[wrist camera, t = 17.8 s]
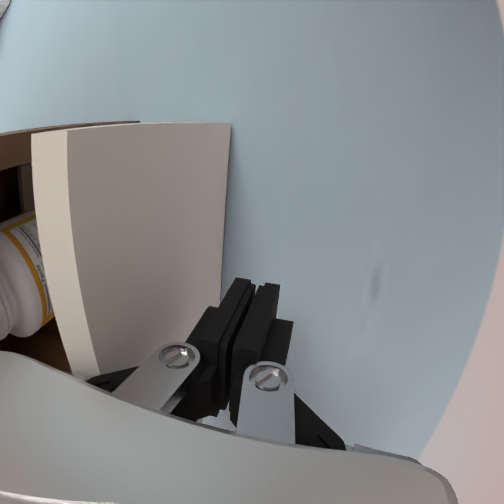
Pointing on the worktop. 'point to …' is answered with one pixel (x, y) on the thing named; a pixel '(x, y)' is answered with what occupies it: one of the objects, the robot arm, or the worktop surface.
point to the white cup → (3, 6)
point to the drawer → (128, 234)
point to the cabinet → (5, 207)
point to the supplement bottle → (22, 278)
